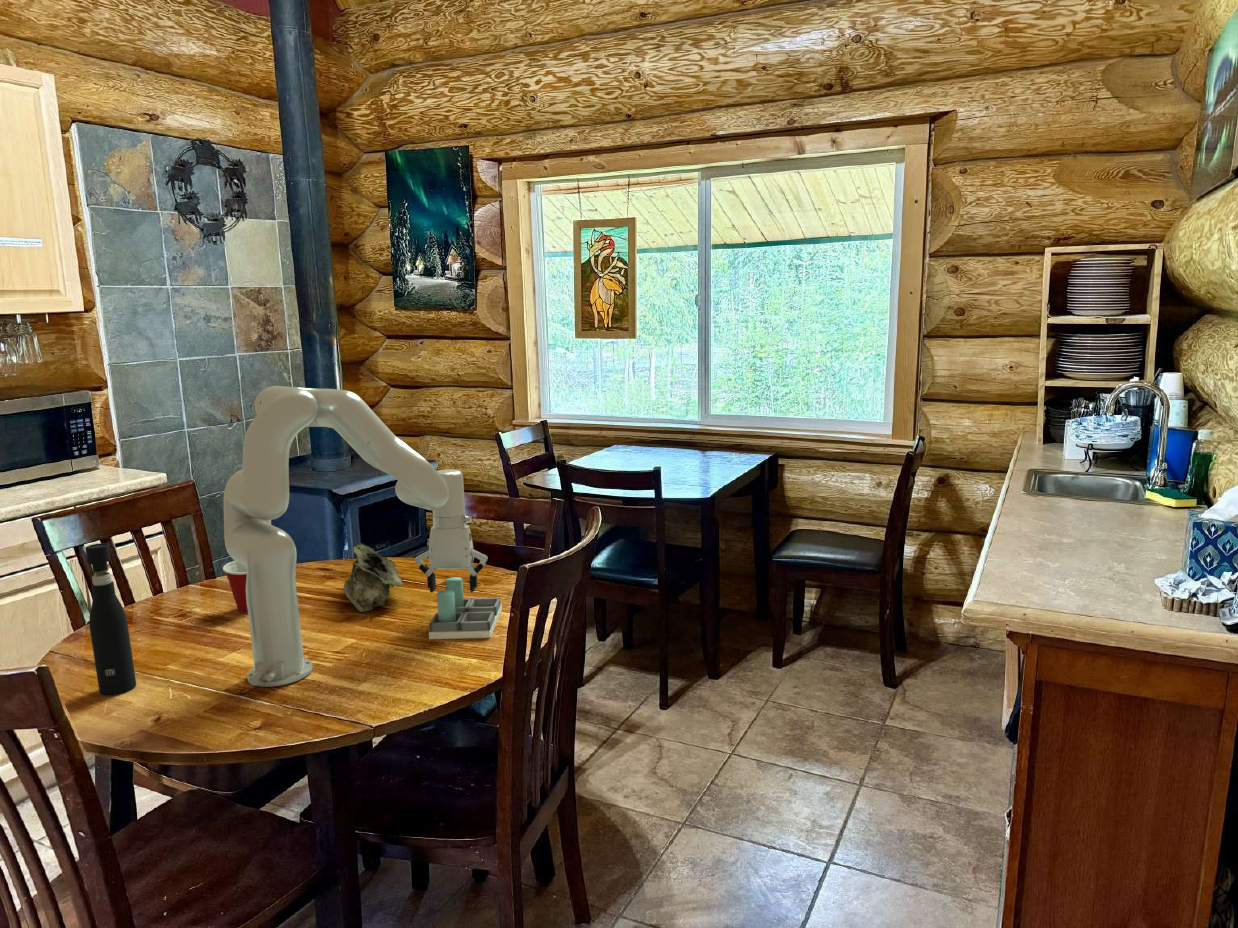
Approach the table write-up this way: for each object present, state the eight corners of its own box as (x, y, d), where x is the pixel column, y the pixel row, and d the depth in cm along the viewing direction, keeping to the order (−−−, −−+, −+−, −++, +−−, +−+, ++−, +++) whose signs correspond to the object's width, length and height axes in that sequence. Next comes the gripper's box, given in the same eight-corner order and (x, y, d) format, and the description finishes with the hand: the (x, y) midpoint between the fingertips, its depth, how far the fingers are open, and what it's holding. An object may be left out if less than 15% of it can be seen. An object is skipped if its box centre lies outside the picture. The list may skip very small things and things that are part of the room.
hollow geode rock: (372, 596, 233) (330, 563, 229) (404, 562, 233) (362, 528, 229) (367, 629, 206) (319, 592, 202) (403, 591, 207) (356, 553, 202)
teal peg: (465, 608, 203) (463, 576, 202) (462, 614, 199) (460, 582, 198) (449, 608, 203) (447, 577, 202) (446, 614, 200) (443, 582, 198)
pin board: (490, 637, 188) (488, 597, 187) (429, 639, 189) (426, 599, 187) (502, 609, 206) (500, 572, 204) (446, 610, 206) (443, 574, 204)
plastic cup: (242, 619, 204) (236, 573, 202) (219, 611, 211) (214, 565, 209) (282, 606, 213) (277, 561, 211) (259, 598, 219) (255, 555, 217)
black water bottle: (129, 678, 172) (108, 539, 167) (141, 687, 168) (121, 544, 163) (94, 690, 167) (72, 547, 162) (106, 698, 163) (84, 552, 158)
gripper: (488, 517, 201) (491, 585, 204) (417, 518, 201) (421, 586, 204) (482, 524, 193) (486, 595, 196) (409, 525, 194) (413, 596, 197)
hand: (452, 590), depth 200 cm, fingers open, 9 cm apart
